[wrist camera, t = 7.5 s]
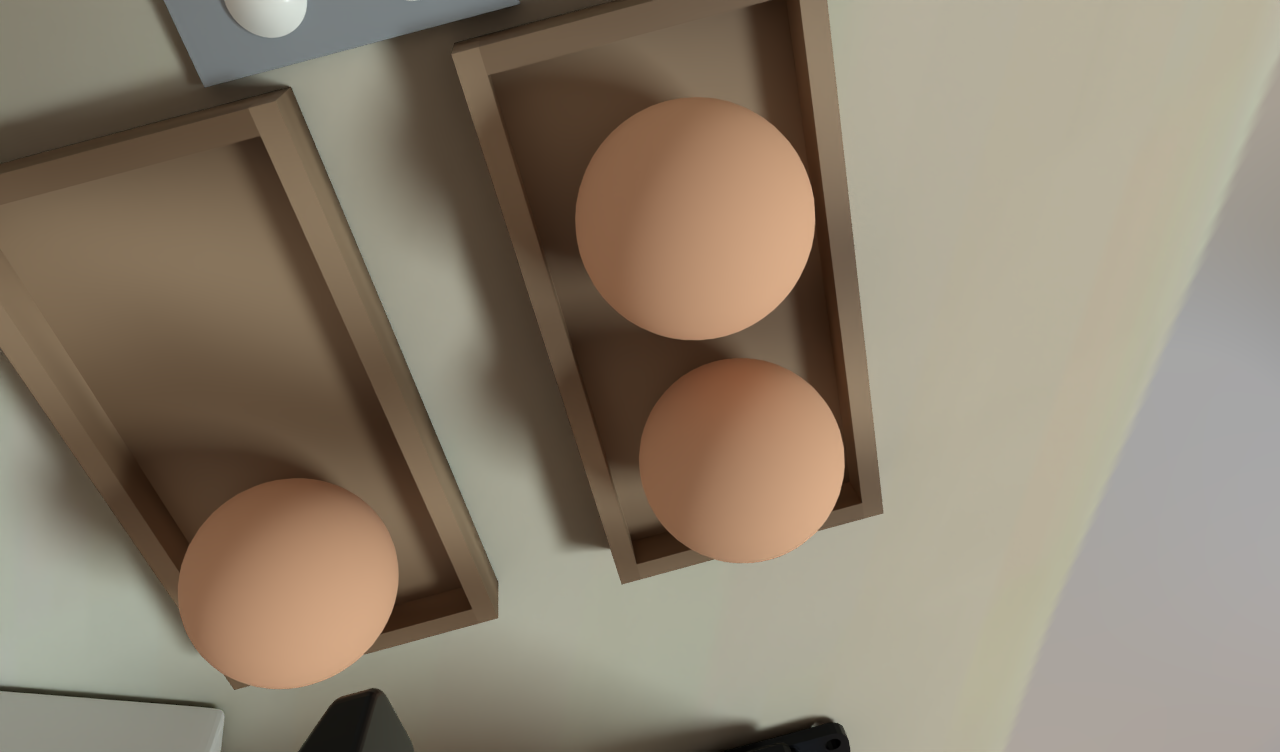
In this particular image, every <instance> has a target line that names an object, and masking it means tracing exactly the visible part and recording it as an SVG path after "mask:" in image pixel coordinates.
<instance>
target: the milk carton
mask: <svg viewBox="0 0 1280 752" xmlns="http://www.w3.org/2000/svg"><path fill="white" fill-rule="evenodd" d="M224 717H225V716H224V712H223V711H222V710H220V709H214V708H205V707H194V706H182V705H169V704H157V703H144V702H131V701H119V700H106V699H93V698H81V697H68V696H55V695H43V694H30V693H17V692H5V691H0V752H221V747H222V737H223V727H224Z"/></svg>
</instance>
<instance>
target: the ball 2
mask: <svg viewBox="0 0 1280 752" xmlns="http://www.w3.org/2000/svg"><path fill="white" fill-rule="evenodd" d="M575 224H576V237H577V243H578V247H579V252H580V256H581V258H582V261H583V264H584V267H585V269H586V271H587V273H588V275H589V277H590V279H591V280H592V282H593V284H594V286H595V287H596V289H597V290H598V292H599V293H600V294H601V296H602V297H603V298H604V299H605V300H606V301H607V302H608V303H609V304H610V305H611V306H612V307H613V308H614V309H615V310H616V311H617V312H618V313H619V314H621V315H622V316H623V317H624V318H626V319H627V320H628V321H630V322H632V323H634V324H635V325H637V326H639V327H641V328H643V329H645V330H648V331H650V332H652V333H655V334H657V335H661V336H665V337H668V338H674V339H681V340H706V339H715V338H719V337H723V336H728V335H730V334H733V333H736V332H739V331H741V330H743V329H745V328H748V327H750V326H752V325H753V324H755V323H757V322H758V321H760V320H761V319H763V318H764V317H765V316H767V315H768V314H769V313H771V312H772V311H773V310H774V309H775V308H776V307H777V306H778V305H779V304H780V303H781V302H782V301H783V300H784V299H785V298H786V297H787V295H788V294H789V293H790V292H791V290H792V289H793V287H794V286H795V284H796V283H797V281H798V279H799V278H800V276H801V274H802V271H803V269H804V267H805V265H806V263H807V260H808V257H809V254H810V251H811V248H812V243H813V238H814V230H815V207H814V197H813V192H812V187H811V184H810V181H809V178H808V175H807V172H806V170H805V167H804V165H803V163H802V161H801V159H800V158H799V156H798V154H797V152H796V151H795V149H794V148H793V147H792V145H791V144H790V142H789V141H788V140H787V139H786V138H785V137H784V136H783V135H782V134H781V133H780V132H779V131H778V130H777V128H776V127H775V126H774V125H772V124H771V123H770V122H768V121H767V120H766V119H764V118H763V117H762V116H760V115H758V114H756V113H754V112H753V111H751V110H749V109H747V108H745V107H743V106H740V105H737V104H735V103H732V102H729V101H725V100H720V99H716V98H705V97H691V98H678V99H673V100H668V101H664V102H661V103H658V104H655V105H652V106H650V107H648V108H646V109H644V110H642V111H640V112H638V113H636V114H634V115H633V116H631V117H630V118H628V119H627V120H625V121H624V122H623V123H621V124H620V125H619V126H618V127H617V128H616V129H615V130H613V131H612V132H611V133H610V134H609V136H608V137H607V138H606V139H605V140H604V141H603V142H602V144H601V145H600V146H599V148H598V149H597V151H596V152H595V154H594V155H593V157H592V159H591V161H590V163H589V165H588V167H587V169H586V171H585V173H584V176H583V179H582V182H581V185H580V188H579V192H578V197H577V202H576V213H575Z"/></svg>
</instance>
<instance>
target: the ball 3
mask: <svg viewBox="0 0 1280 752" xmlns="http://www.w3.org/2000/svg"><path fill="white" fill-rule="evenodd" d="M844 467H845V465H844V447H843V442H842V438H841V433H840V430H839V427H838V424H837V422H836V420H835V417H834V415H833V413H832V412H831V410H830V408H829V407H828V405H827V403H826V402H825V401H824V399H823V398H822V397H821V396H820V395H819V393H818V392H817V391H816V390H815V389H814V388H813V387H812V386H811V385H810V384H809V383H807V382H806V381H805V380H804V379H802V378H801V377H800V376H798V375H797V374H795V373H793V372H792V371H790V370H788V369H786V368H783V367H781V366H779V365H776V364H774V363H771V362H767V361H764V360H757V359H750V358H731V359H723V360H718V361H714V362H711V363H708V364H705V365H702V366H700V367H698V368H696V369H693V370H692V371H690V372H688V373H687V374H685V375H683V376H682V377H681V378H679V379H678V380H677V381H675V382H674V383H673V384H672V385H671V386H670V387H669V388H668V389H667V390H666V391H665V392H664V393H663V395H662V396H661V397H660V399H659V400H658V401H657V402H656V404H655V406H654V407H653V409H652V411H651V412H650V414H649V417H648V419H647V421H646V424H645V427H644V430H643V433H642V437H641V443H640V451H639V469H640V477H641V482H642V486H643V489H644V492H645V495H646V497H647V500H648V503H649V505H650V507H651V508H652V510H653V512H654V514H655V515H656V517H657V518H658V520H659V521H660V522H661V524H662V525H663V526H664V527H665V529H666V530H667V531H668V532H669V533H670V534H671V535H673V536H674V537H675V538H676V539H677V540H678V541H679V542H681V543H682V544H684V545H685V546H687V547H688V548H690V549H692V550H693V551H695V552H697V553H699V554H701V555H704V556H707V557H710V558H713V559H716V560H720V561H724V562H731V563H754V562H762V561H766V560H770V559H774V558H777V557H780V556H782V555H784V554H786V553H789V552H790V551H792V550H794V549H796V548H797V547H799V546H800V545H802V544H803V543H805V542H806V541H807V540H808V539H809V538H810V537H812V536H813V535H814V534H815V533H816V532H817V531H818V530H819V529H820V527H821V526H822V525H823V524H824V522H825V521H826V520H827V518H828V517H829V515H830V513H831V511H832V510H833V508H834V506H835V504H836V501H837V499H838V496H839V494H840V490H841V486H842V482H843V477H844Z"/></svg>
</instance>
